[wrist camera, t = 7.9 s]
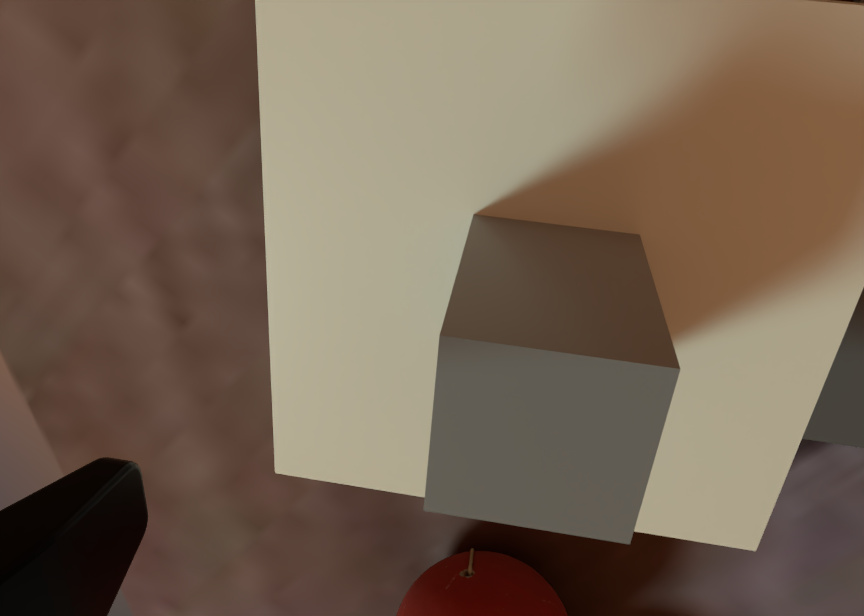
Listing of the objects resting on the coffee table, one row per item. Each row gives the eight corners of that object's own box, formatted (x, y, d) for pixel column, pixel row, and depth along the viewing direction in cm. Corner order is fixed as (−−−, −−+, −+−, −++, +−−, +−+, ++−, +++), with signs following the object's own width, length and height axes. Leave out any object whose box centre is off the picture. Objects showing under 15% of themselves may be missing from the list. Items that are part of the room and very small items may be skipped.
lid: (947, 10, 11) (1237, 61, 6) (747, 524, 16) (825, 759, 12) (270, -50, 12) (94, -44, 7) (286, 451, 17) (188, 639, 13)
